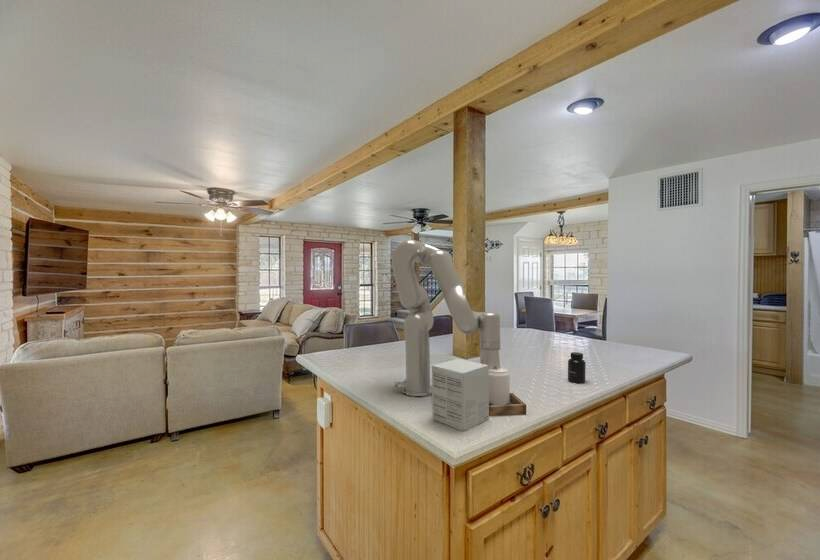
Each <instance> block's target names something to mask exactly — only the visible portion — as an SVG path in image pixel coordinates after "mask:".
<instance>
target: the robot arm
mask: <svg viewBox="0 0 820 560" xmlns="http://www.w3.org/2000/svg"><path fill="white" fill-rule="evenodd" d="M453 262H454V259H453V256H452V255H451V254H450V252H449V251H446V250H444V249H440V248H437V247H435V246H433V245H430V244H427V243H425V242H422V241H418V240H417V239H406V240H404V241H401V242H400V243H399V244H398V245H397V246H396V247H395V248H394V251H393V253H392V256H391V266H392V271H393V276H394V280H395V285H396V288H397V293H398V297H399V301H400V304H401V305H402V307H403V308H405V309H406V310H408V311H409V314H408V315H407V316H406V318H404V322H403V335H404V341H405V345H404V347H405V375H406V376H405V378H404V380H402V381H394V388H398V389H402V390H401V391H403V392H404V393H406V394H408V395H412V396H411V397H415V396H421V397H427V396H432V385H431V353H430V351H431V349H430V346H431V345H430V338H429V337H430V335H429V331H430V330H432V328H433V326H434V322H435V320H434V314H433V311H432V306H431V302H430V299H429V295H428V291H427V290H426V289H425V287H423V286H422V285H421V284H419V282H418V281H419V280H418V278H417V274H416V270H415V268H414V263H418V264H420V265H423V266H426V267H429V268H430V270H431V272H432V274H433V276H434V279H435V280H436V282H437V284H438V287H439V288H440V290H441V292H442V295H443V298H444V302H445V303H446V306H447V308H448V311H449V313H450V315H451V318H452V319H453V321H454V323H455V325H456V327H457V329H458V330H459V331H460V332H461V333H463V334H466V335H467V334H468V335H470V334H473V333H474V332H475V331H476V330H479V349H480V354H479V363H480V364H485V365H488V370H492V369H499V370H500V367H501V365H500V364H501V363H500V352H499V351H500V350H501V315H500V313H498V312H496V311H483V312H481V311H475V310H472V309H471V307H470V304H469V302H468V299H467V297H466V294H465V288H464V287H465V286H464V284H463V281H462V279H461V277H460V275H459V273H458V271H457V269H456V268H455V265H454V263H453ZM403 392H402V393H403ZM404 393H403V394H404ZM408 395H407V396H408Z"/></svg>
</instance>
